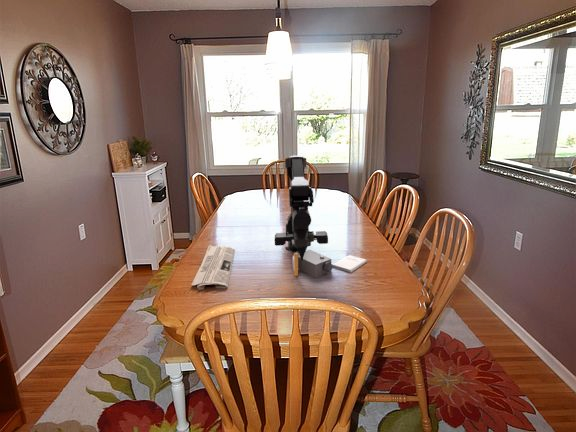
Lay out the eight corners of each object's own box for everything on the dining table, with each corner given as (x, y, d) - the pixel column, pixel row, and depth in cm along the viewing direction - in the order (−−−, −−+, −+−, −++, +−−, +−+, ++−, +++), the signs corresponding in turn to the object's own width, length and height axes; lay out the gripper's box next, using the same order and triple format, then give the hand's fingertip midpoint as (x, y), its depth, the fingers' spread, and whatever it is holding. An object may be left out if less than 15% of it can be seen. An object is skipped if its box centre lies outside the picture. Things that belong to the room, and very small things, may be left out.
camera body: (294, 266, 145) (294, 253, 144) (309, 261, 150) (310, 248, 148) (318, 278, 135) (318, 264, 133) (334, 272, 140) (334, 258, 138)
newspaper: (227, 290, 129) (227, 280, 128) (190, 291, 128) (190, 282, 127) (235, 251, 162) (234, 243, 161) (206, 252, 162) (205, 244, 161)
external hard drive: (332, 268, 145) (348, 258, 154) (350, 273, 140) (366, 263, 149) (332, 264, 144) (348, 254, 153) (350, 269, 139) (366, 259, 148)
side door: (291, 266, 145) (291, 246, 142) (295, 266, 145) (294, 245, 142) (294, 275, 137) (294, 254, 135) (298, 275, 137) (298, 254, 135)
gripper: (272, 228, 124) (275, 271, 129) (329, 225, 124) (329, 268, 128) (274, 217, 135) (276, 257, 139) (326, 215, 134) (327, 255, 139)
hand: (302, 260), depth 136 cm, fingers closed
